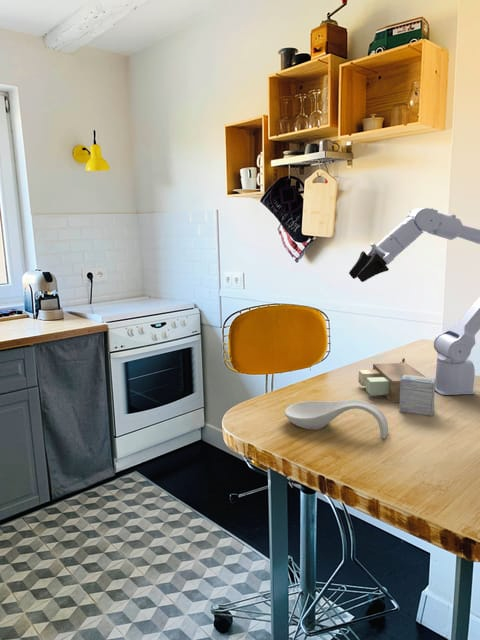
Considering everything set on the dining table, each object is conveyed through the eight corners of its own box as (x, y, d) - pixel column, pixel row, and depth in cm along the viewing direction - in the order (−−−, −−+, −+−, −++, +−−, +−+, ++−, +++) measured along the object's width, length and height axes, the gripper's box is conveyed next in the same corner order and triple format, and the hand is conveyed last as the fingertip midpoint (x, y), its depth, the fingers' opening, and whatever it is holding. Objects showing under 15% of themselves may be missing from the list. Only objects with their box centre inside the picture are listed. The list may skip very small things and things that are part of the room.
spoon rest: (278, 430, 114) (278, 401, 113) (292, 412, 125) (292, 385, 123) (384, 447, 105) (385, 415, 104) (390, 426, 116) (391, 397, 114)
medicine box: (433, 410, 124) (436, 377, 122) (432, 417, 120) (434, 382, 119) (401, 406, 127) (402, 373, 126) (398, 412, 123) (400, 378, 122)
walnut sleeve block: (405, 381, 146) (406, 363, 145) (428, 400, 131) (430, 379, 130) (372, 382, 146) (373, 363, 145) (391, 402, 130) (392, 381, 129)
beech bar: (389, 381, 143) (389, 369, 142) (393, 385, 140) (394, 372, 139) (358, 382, 143) (358, 370, 142) (362, 386, 139) (362, 373, 138)
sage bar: (398, 389, 136) (398, 376, 136) (403, 393, 133) (403, 380, 132) (365, 390, 136) (366, 377, 135) (370, 394, 132) (370, 381, 132)
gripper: (376, 231, 136) (338, 263, 137) (395, 231, 122) (353, 268, 123) (392, 250, 137) (354, 282, 138) (413, 253, 123) (371, 289, 124)
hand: (355, 277), depth 131 cm, fingers open, 7 cm apart
